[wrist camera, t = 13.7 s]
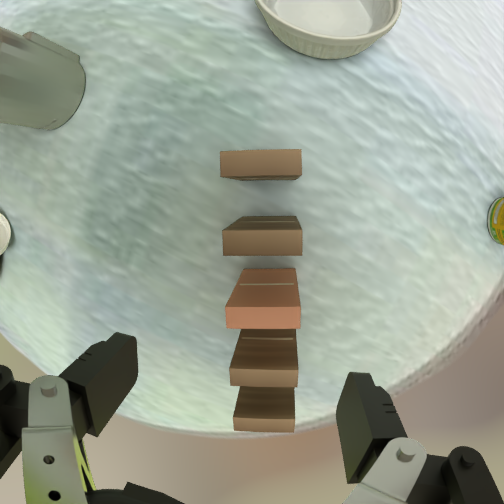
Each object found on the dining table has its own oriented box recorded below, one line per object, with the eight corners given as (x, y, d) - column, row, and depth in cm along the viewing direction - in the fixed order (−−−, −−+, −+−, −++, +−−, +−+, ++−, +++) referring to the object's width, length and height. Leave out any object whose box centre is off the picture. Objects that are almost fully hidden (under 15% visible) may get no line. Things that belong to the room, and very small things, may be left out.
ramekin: (250, 61, 26) (240, 30, 19) (263, -29, 24) (258, -66, 17) (382, 81, 25) (406, 56, 19) (379, -12, 23) (395, -45, 16)
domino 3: (243, 268, 30) (225, 306, 21) (295, 268, 30) (300, 306, 20) (244, 284, 31) (226, 328, 21) (295, 284, 30) (300, 329, 20)
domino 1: (241, 163, 28) (220, 151, 19) (294, 162, 28) (301, 149, 18) (241, 180, 29) (220, 177, 19) (295, 180, 28) (301, 175, 18)
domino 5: (246, 357, 32) (232, 417, 23) (293, 358, 32) (295, 419, 22) (247, 369, 33) (234, 430, 23) (292, 370, 32) (294, 432, 22)
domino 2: (242, 216, 29) (222, 230, 20) (295, 215, 29) (302, 229, 19) (242, 233, 30) (223, 256, 20) (295, 233, 29) (302, 255, 19)
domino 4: (245, 315, 31) (229, 368, 22) (294, 316, 31) (298, 369, 21) (245, 329, 32) (230, 385, 22) (294, 330, 31) (297, 387, 21)
